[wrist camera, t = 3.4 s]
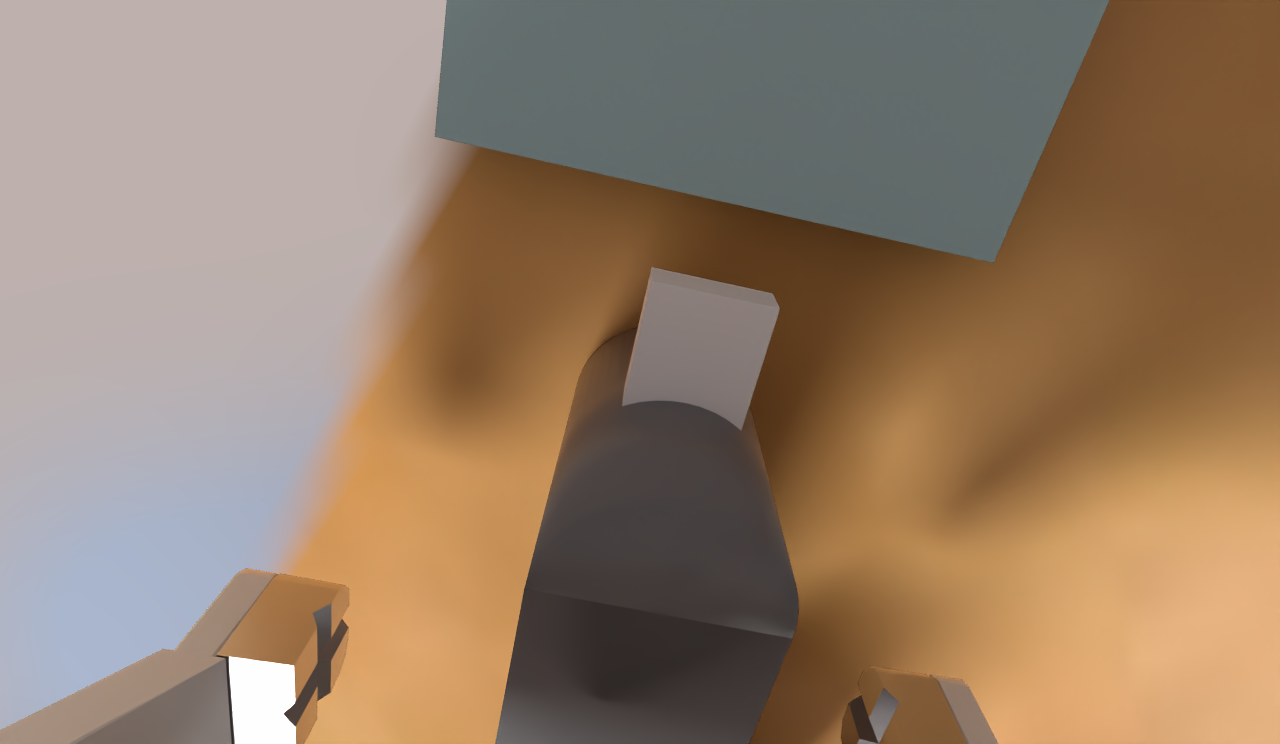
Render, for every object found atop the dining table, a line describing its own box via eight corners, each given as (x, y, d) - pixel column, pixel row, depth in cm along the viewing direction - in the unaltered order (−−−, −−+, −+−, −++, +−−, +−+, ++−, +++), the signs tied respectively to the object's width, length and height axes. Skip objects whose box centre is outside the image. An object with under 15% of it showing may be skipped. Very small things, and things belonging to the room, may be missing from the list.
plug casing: (794, 259, 11) (890, 402, 6) (667, 661, 15) (670, 935, 10) (609, 218, 11) (572, 335, 6) (526, 636, 14) (465, 902, 10)
